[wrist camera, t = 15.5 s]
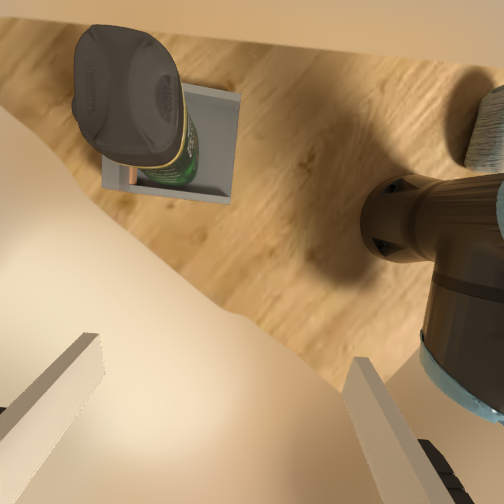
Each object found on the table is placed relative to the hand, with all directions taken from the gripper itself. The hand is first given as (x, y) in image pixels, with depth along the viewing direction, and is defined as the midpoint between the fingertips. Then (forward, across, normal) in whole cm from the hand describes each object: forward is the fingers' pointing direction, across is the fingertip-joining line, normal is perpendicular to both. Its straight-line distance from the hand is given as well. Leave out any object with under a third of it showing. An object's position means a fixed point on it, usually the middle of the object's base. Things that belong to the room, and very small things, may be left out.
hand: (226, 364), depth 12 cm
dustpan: (+29, -11, +11) cm, 33 cm away
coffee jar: (+28, -12, +10) cm, 32 cm away
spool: (+37, +40, +19) cm, 57 cm away
